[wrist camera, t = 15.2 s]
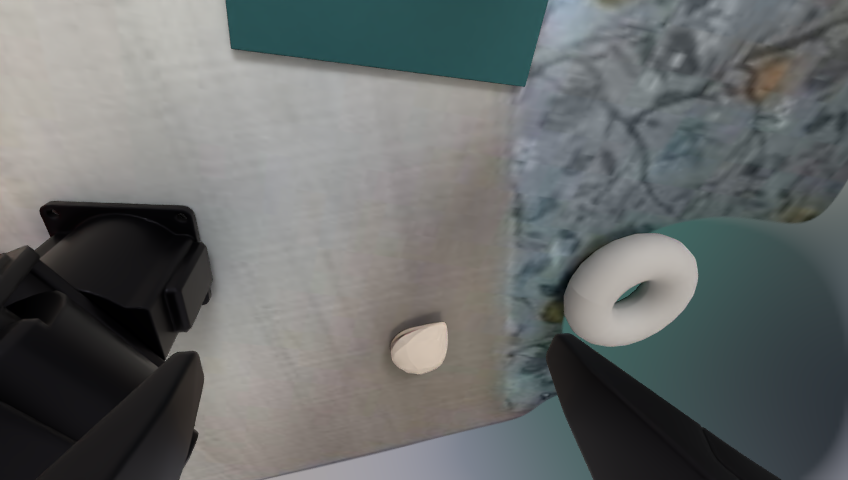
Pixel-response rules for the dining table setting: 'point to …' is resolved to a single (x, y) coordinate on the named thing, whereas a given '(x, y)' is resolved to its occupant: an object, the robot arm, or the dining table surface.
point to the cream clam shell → (420, 348)
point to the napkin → (397, 34)
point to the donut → (619, 271)
